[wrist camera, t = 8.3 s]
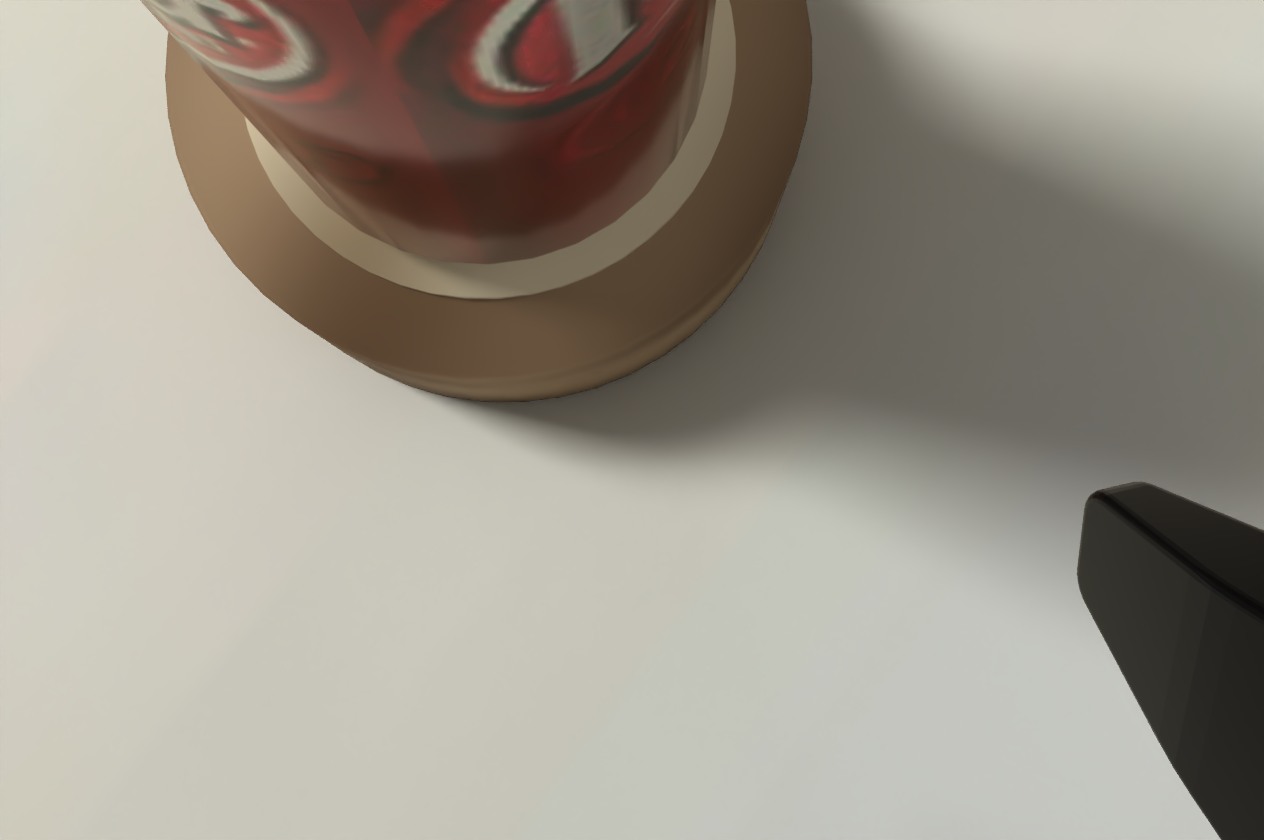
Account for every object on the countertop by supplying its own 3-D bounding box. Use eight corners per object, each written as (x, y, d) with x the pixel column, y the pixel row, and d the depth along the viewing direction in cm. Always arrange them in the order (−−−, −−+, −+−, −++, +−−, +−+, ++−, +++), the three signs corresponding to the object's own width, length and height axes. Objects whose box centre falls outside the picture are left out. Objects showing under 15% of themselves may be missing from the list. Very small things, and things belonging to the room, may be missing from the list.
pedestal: (862, -39, 22) (898, -137, 19) (682, 481, 21) (689, 468, 18) (349, -203, 23) (302, -325, 20) (145, 294, 21) (61, 249, 18)
